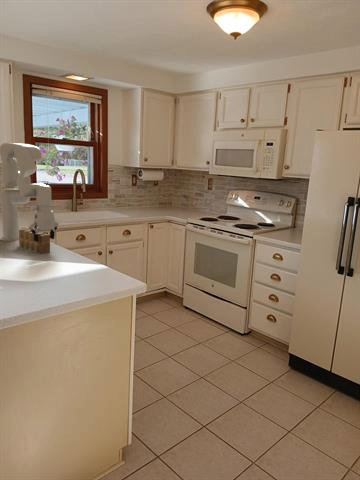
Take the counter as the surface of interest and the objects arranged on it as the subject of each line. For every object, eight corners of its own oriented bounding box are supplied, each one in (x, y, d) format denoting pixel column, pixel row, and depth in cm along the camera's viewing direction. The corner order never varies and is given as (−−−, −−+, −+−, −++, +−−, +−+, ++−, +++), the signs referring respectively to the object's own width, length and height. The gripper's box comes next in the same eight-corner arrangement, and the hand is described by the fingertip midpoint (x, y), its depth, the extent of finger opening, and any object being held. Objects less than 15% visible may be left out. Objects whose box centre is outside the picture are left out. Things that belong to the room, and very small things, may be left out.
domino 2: (24, 248, 207) (23, 230, 205) (32, 247, 211) (31, 229, 209) (26, 248, 206) (25, 231, 204) (34, 247, 210) (33, 230, 208)
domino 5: (50, 252, 201) (49, 234, 199) (42, 253, 197) (41, 235, 195) (47, 251, 202) (47, 233, 200) (39, 253, 198) (39, 235, 196)
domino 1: (19, 246, 210) (18, 229, 208) (27, 245, 214) (27, 228, 212) (21, 247, 209) (20, 230, 207) (29, 246, 213) (28, 229, 211)
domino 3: (29, 249, 204) (28, 232, 202) (37, 248, 208) (37, 231, 206) (31, 250, 203) (30, 232, 201) (39, 249, 207) (39, 231, 205)
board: (15, 247, 209) (15, 246, 209) (29, 245, 216) (29, 244, 216) (40, 255, 196) (40, 254, 195) (53, 253, 202) (53, 252, 202)
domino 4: (34, 251, 201) (34, 233, 199) (42, 250, 205) (42, 232, 203) (36, 252, 200) (36, 234, 198) (44, 250, 204) (44, 233, 202)
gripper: (33, 210, 186) (33, 243, 190) (62, 208, 200) (62, 239, 203) (24, 208, 190) (25, 240, 194) (53, 206, 204) (54, 236, 208)
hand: (44, 239), depth 199 cm, fingers open, 9 cm apart
